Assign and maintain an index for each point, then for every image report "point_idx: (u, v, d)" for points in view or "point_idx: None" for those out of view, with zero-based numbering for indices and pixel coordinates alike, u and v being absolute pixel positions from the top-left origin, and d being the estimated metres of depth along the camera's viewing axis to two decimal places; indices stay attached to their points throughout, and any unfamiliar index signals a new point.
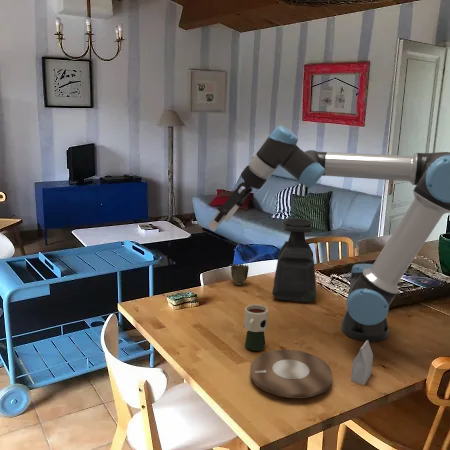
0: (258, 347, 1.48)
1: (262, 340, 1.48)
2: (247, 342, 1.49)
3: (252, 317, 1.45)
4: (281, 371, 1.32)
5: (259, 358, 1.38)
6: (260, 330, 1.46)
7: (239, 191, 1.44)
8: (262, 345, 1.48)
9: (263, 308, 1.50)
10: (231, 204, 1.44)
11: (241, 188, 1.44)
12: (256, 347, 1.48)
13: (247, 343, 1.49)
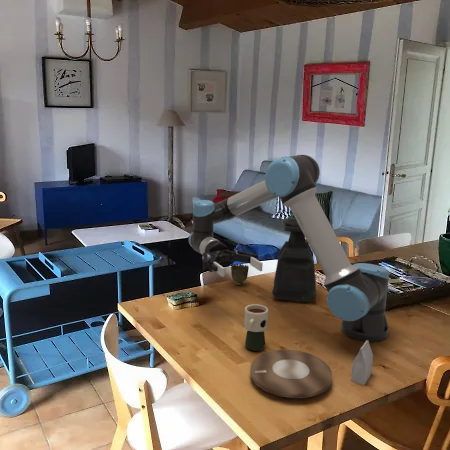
0: (258, 347, 1.48)
1: (262, 340, 1.48)
2: (247, 342, 1.49)
3: (252, 317, 1.45)
4: (281, 371, 1.32)
5: (259, 358, 1.38)
6: (260, 330, 1.46)
7: (203, 257, 1.63)
8: (262, 345, 1.48)
9: (263, 308, 1.50)
10: (203, 260, 1.59)
11: (202, 257, 1.64)
12: (256, 347, 1.48)
13: (247, 343, 1.49)
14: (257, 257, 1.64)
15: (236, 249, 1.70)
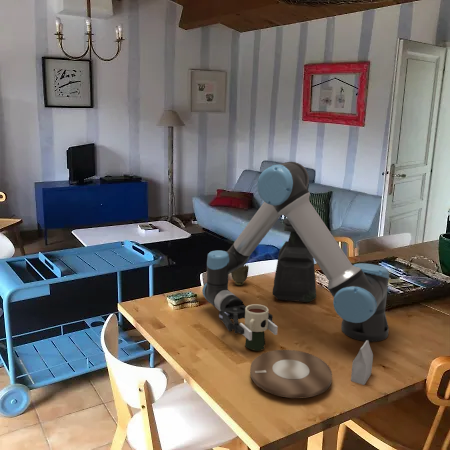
0: (259, 347, 1.48)
1: (262, 340, 1.48)
2: (247, 342, 1.49)
3: (252, 317, 1.45)
4: (281, 371, 1.32)
5: (259, 358, 1.38)
6: (260, 330, 1.46)
7: (221, 316, 1.56)
8: (262, 345, 1.48)
9: (263, 308, 1.50)
10: (225, 320, 1.51)
11: (219, 315, 1.56)
12: (256, 347, 1.48)
13: (247, 343, 1.49)
14: (271, 317, 1.54)
15: None
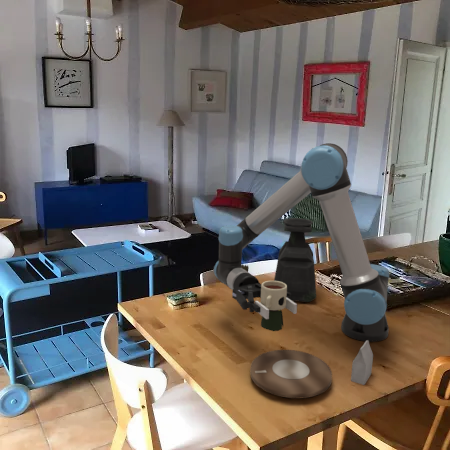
0: (276, 328, 1.35)
1: (280, 319, 1.35)
2: (263, 322, 1.36)
3: (269, 293, 1.32)
4: (281, 371, 1.32)
5: (259, 358, 1.38)
6: (278, 308, 1.33)
7: (234, 295, 1.42)
8: (280, 325, 1.35)
9: (281, 285, 1.36)
10: (239, 298, 1.38)
11: (232, 294, 1.43)
12: (273, 327, 1.34)
13: (263, 323, 1.36)
14: (289, 296, 1.41)
15: None
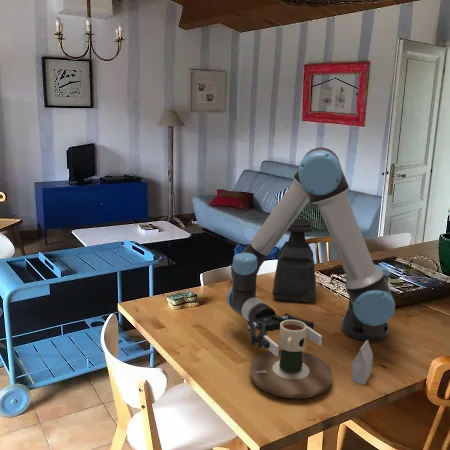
0: (296, 369, 1.30)
1: (300, 361, 1.30)
2: (282, 363, 1.31)
3: (290, 335, 1.27)
4: (281, 371, 1.32)
5: (259, 358, 1.38)
6: (298, 350, 1.28)
7: (248, 327, 1.38)
8: (300, 366, 1.30)
9: (300, 324, 1.32)
10: (250, 332, 1.34)
11: None
12: (293, 369, 1.30)
13: (282, 364, 1.31)
14: (313, 325, 1.38)
15: (286, 314, 1.44)
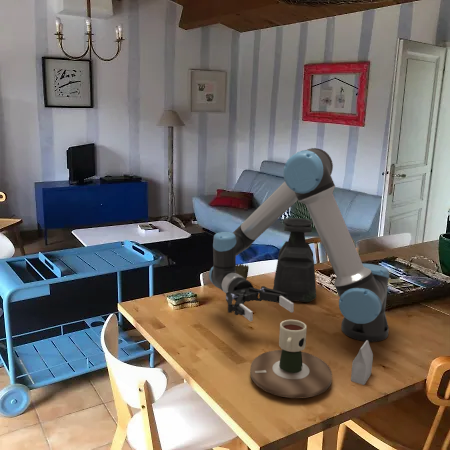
0: (296, 369, 1.30)
1: (300, 360, 1.30)
2: (282, 363, 1.31)
3: (289, 335, 1.27)
4: (281, 371, 1.32)
5: (259, 358, 1.38)
6: (298, 350, 1.28)
7: (227, 298, 1.49)
8: (300, 366, 1.30)
9: (300, 324, 1.32)
10: (227, 301, 1.44)
11: (226, 297, 1.50)
12: (293, 369, 1.30)
13: (282, 364, 1.31)
14: (286, 295, 1.49)
15: (262, 286, 1.55)
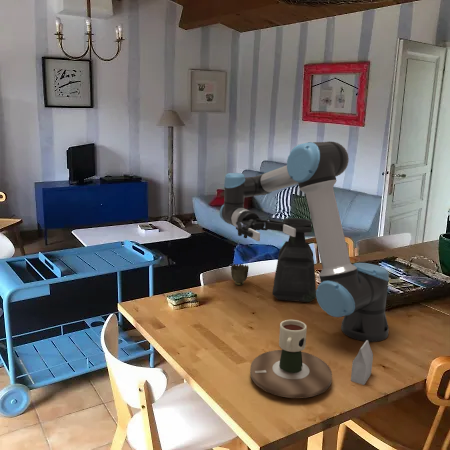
0: (296, 369, 1.30)
1: (300, 361, 1.30)
2: (282, 363, 1.31)
3: (290, 335, 1.27)
4: (281, 371, 1.32)
5: (259, 358, 1.38)
6: (298, 350, 1.28)
7: (236, 226, 1.68)
8: (300, 366, 1.30)
9: (300, 324, 1.32)
10: (237, 227, 1.64)
11: (236, 225, 1.69)
12: (293, 369, 1.30)
13: (282, 364, 1.31)
14: (289, 225, 1.68)
15: None
